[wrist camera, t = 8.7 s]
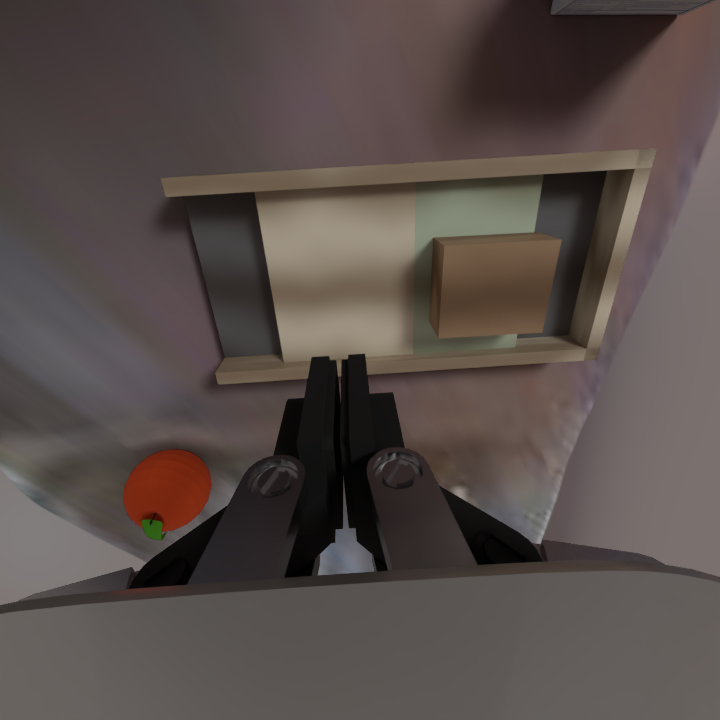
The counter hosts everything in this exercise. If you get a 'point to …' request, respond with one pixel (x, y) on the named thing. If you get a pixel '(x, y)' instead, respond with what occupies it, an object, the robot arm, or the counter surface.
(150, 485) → the clementine
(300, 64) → the counter surface
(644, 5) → the medicine box
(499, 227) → the tray
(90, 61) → the counter surface
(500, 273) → the walnut block
